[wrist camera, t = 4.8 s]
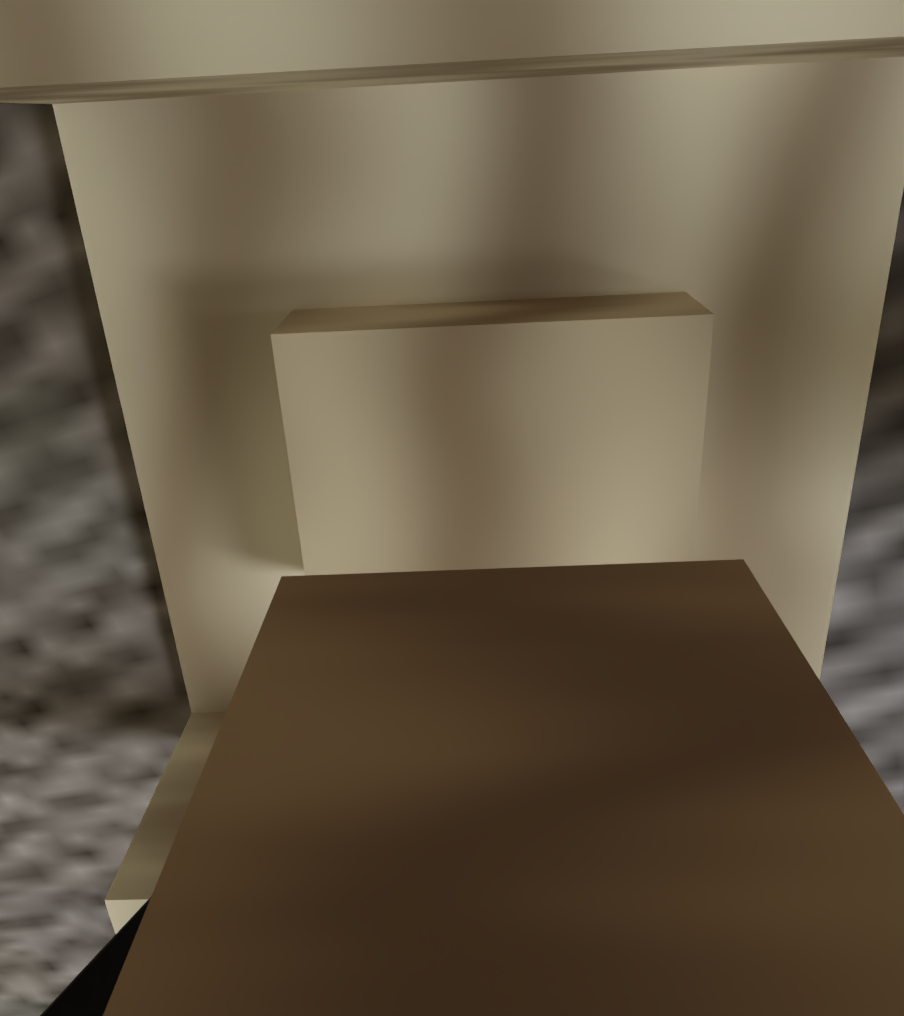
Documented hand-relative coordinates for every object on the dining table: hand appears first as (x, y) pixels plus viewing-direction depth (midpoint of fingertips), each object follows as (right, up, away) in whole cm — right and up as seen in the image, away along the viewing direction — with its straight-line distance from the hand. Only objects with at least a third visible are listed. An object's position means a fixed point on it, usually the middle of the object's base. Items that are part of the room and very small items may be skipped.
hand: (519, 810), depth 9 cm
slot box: (0, +5, +12) cm, 13 cm away
